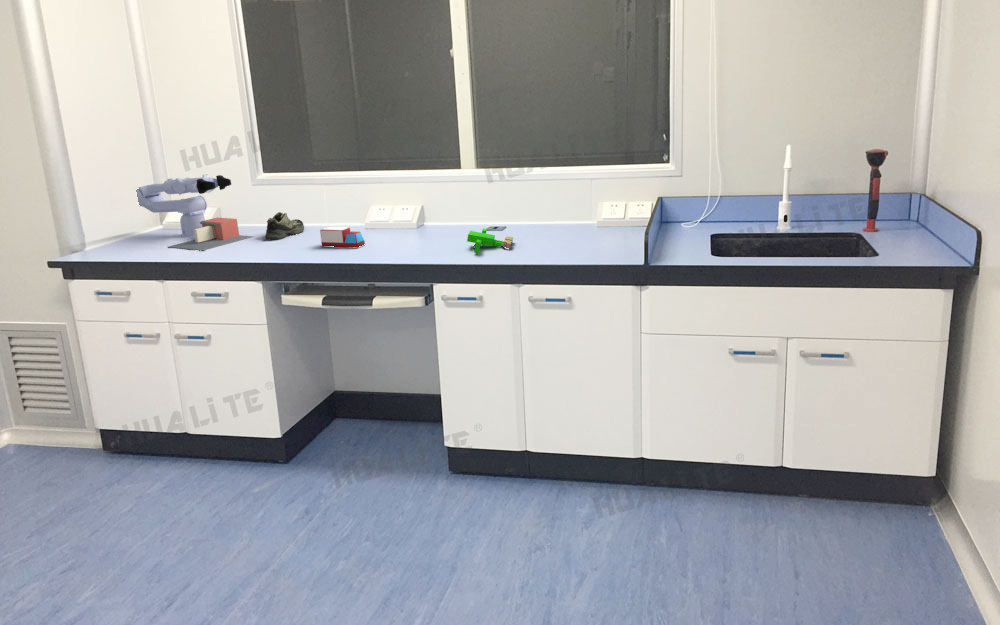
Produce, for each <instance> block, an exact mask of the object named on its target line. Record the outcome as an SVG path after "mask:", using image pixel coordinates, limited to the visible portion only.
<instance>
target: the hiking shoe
mask: <svg viewBox="0 0 1000 625" xmlns="http://www.w3.org/2000/svg"><path fill="white" fill-rule="evenodd" d="M266 223H267V225H266V232H265V236H264V238H265V240H268V241H280V240H283V239H285V238H286V237H291V236H296V234H297V235H301V234H302V233H303V232H304V231H305V224H304V223H303V221H302V220H300V219H297V218H296V219H290V218H289V217H288V214H287V212H284V213H283V212H281V211H280V212H279V211H278V212H277V213H276V214H274V216H273V217H272V218H271V217H269V218H268V219H267V221H266ZM300 233H301V234H300ZM290 235H291V236H290Z"/></svg>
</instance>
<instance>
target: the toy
mask: <svg viewBox="0 0 1000 625" xmlns="http://www.w3.org/2000/svg"><path fill="white" fill-rule="evenodd" d="M487 229H488V228H483V229H482V230H481V231H475V230H469V232H468V233H467V239H466V242H469V243H474V246H475V249H473V250H474V252H473V253H474V254H479V252H480V248H481V246H482V245H485V246H489V247H493V246H495V247H499V246H503V247H506V248H510V247H511V248H512V245H513V240H514V237H513V236H505V238H504V241H503V240H498V239H495V237H496V235H495V234H490V233H487ZM511 244H512V245H511ZM474 246H473V247H474ZM503 247H502V248H503ZM511 248H510V249H511Z"/></svg>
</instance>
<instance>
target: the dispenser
mask: <svg viewBox="0 0 1000 625" xmlns="http://www.w3.org/2000/svg"><path fill="white" fill-rule="evenodd" d="M200 224H202V227H206V226H210V225H214V226H215V232H216V239H217V240H226V239H230V238H233V237H237V236H239V235H240V233H239V232H240V230H239V225H238V219H237V218H229V217H228V218H227V217H218V216H217V217H213V218H209V219H205V221H201V222H200Z"/></svg>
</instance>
